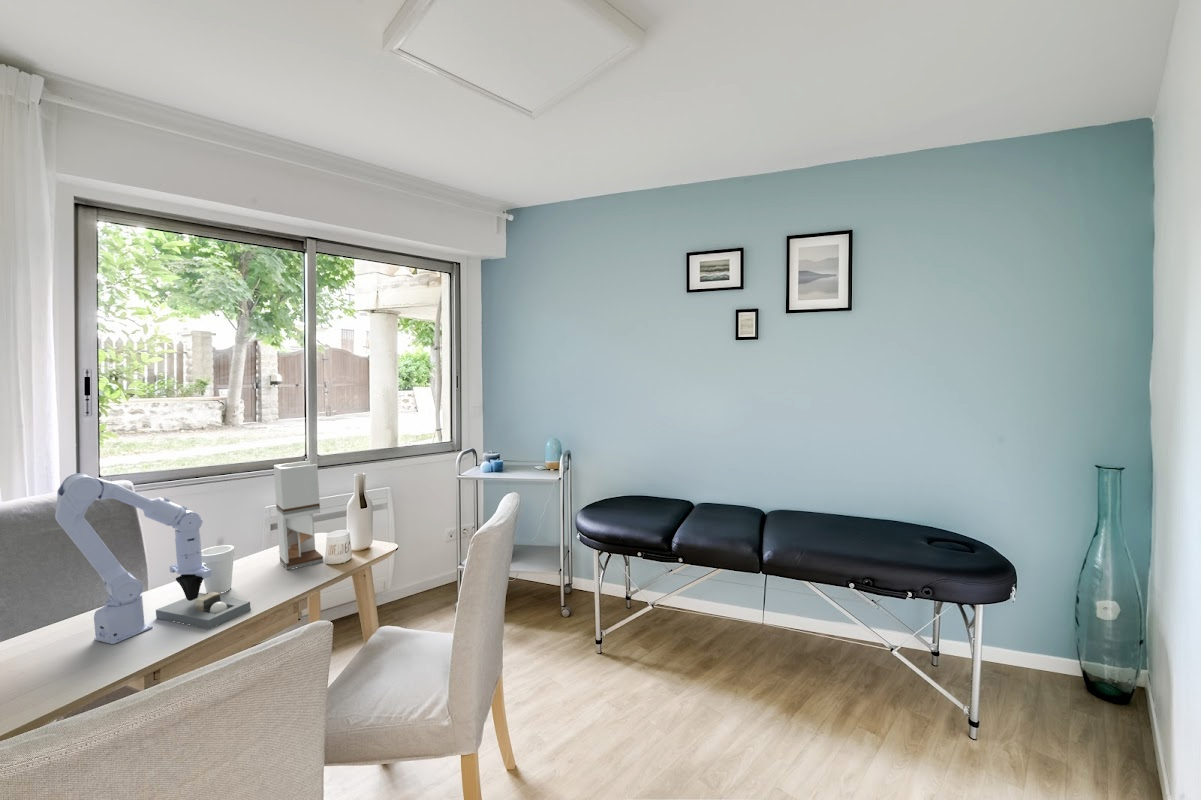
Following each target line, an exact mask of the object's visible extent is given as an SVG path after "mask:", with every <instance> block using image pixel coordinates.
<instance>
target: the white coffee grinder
mask: <svg viewBox="0 0 1201 800" xmlns="http://www.w3.org/2000/svg"><path fill="white" fill-rule="evenodd" d="M310 461H311V460H304V461H295V462H287V463H280V464H274V465H273V473H274V475H273V476H274V489H275V490H274V491H275V492H274V493H275V505H276V519H277V521H276V523H277V535H278V536H277V537H278V549H279V550H278V552H279V553H278V554H279V563H280V562H281V563H282V564H283V565H282V564H281V563H280V564H281V565H282V566H283V568H284V569H285V568H286V569H291V570H293V569H292V568H295V569H297V568H296V567H299V568H303V567H302V566H304V567H307V566H306V565H308V566H311V564H312V565H317V564H320V562H321V563H324V556H323V555H322V554H321V553H320V552H319V551H317V550H316V542H315V541H316V540H315V539H316V538H315V524H314V523H315V520H314V515H315V514H320V513H321V507H320V506H321V504H320V502H321V501H320V491H319V489H320V488H319V487H320V485H319V470H318V463H317V464H316V463H314V464H311V462H310ZM286 569H285V570H286Z"/></svg>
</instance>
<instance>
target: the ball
mask: <svg viewBox="0 0 1201 800" xmlns="http://www.w3.org/2000/svg"><path fill="white" fill-rule="evenodd" d="M226 609H227V605H226V604H225V603H224V602H216V603H214V604H213V605H212V606H211V608H210V613H212V614H217V613H219V612H222V611H224V610H226Z"/></svg>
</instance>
